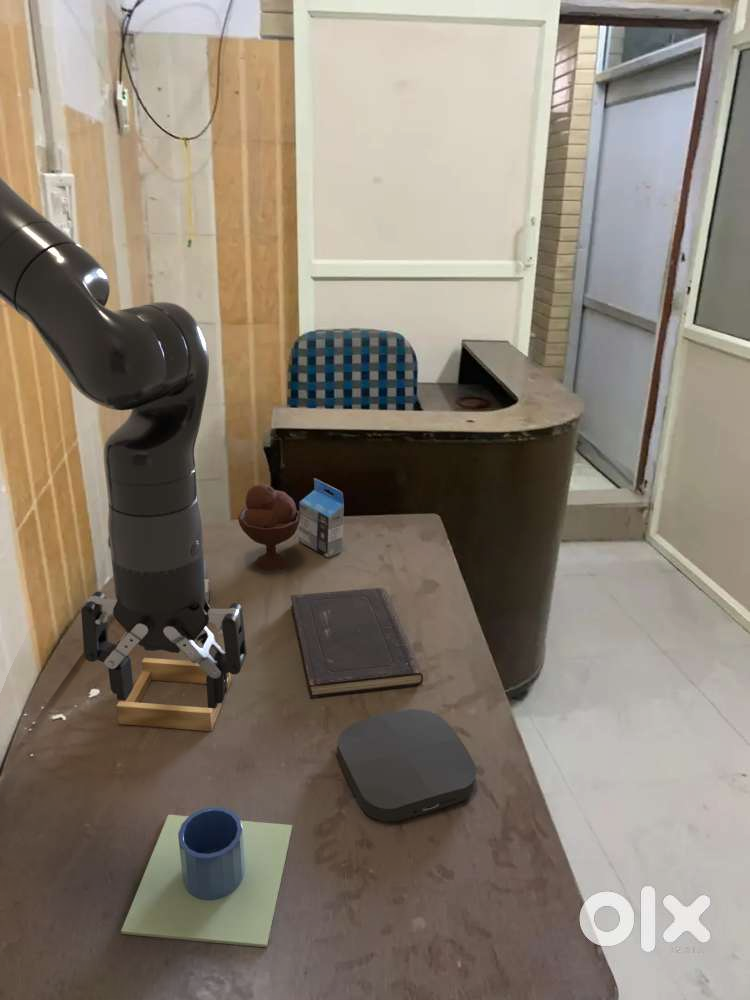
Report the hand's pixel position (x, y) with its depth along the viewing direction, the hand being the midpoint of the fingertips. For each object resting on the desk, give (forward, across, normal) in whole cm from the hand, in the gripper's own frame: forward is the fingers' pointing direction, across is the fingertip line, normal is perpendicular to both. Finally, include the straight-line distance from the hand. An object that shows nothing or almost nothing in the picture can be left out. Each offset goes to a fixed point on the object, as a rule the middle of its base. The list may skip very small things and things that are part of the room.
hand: (169, 698), depth 71 cm
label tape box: (+21, -4, -70) cm, 74 cm away
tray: (+21, +8, -24) cm, 33 cm away
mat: (+21, -4, +2) cm, 22 cm away
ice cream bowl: (+22, +4, -63) cm, 67 cm away
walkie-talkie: (+22, +16, -49) cm, 56 cm away
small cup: (+21, -4, +2) cm, 21 cm away
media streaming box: (+21, -23, -15) cm, 34 cm away
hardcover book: (+21, -14, -40) cm, 47 cm away
